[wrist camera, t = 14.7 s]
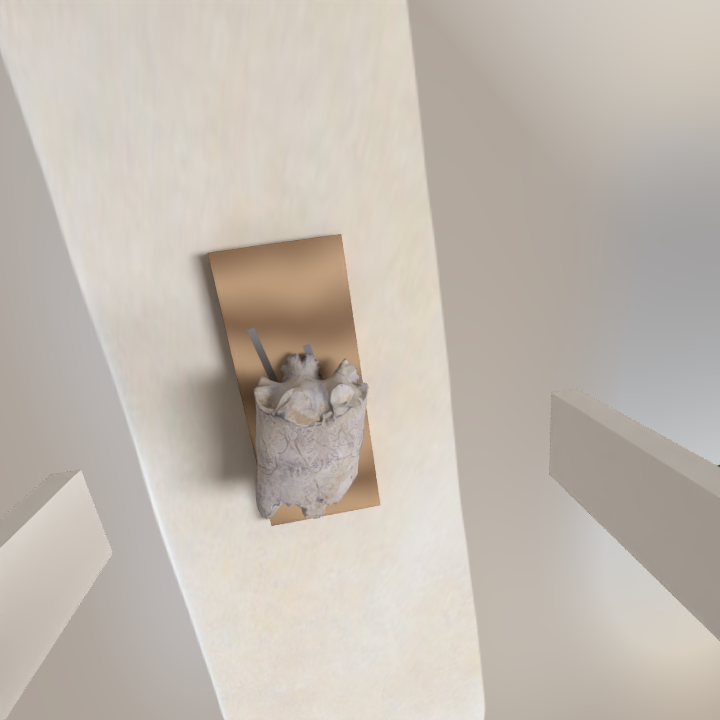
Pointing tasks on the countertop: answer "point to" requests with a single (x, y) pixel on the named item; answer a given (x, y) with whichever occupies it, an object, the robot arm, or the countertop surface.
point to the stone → (308, 436)
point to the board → (292, 331)
